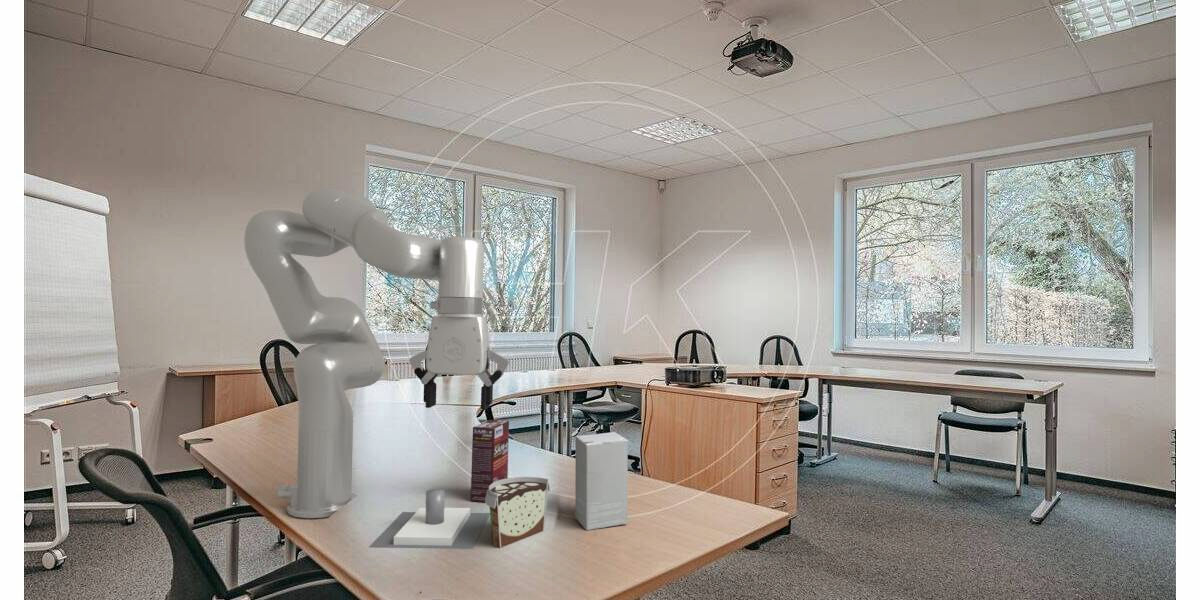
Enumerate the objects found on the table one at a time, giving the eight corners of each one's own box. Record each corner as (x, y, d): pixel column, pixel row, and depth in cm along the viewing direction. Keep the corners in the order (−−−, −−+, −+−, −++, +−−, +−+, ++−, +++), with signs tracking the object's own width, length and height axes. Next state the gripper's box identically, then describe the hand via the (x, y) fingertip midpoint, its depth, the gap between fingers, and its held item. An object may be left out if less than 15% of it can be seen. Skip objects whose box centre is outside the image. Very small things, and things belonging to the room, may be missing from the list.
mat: (368, 556, 91) (368, 547, 91) (402, 520, 107) (402, 511, 107) (471, 558, 91) (472, 548, 91) (490, 521, 107) (490, 513, 107)
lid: (393, 544, 92) (394, 504, 92) (420, 514, 106) (421, 479, 106) (451, 545, 92) (451, 505, 92) (470, 514, 106) (471, 480, 106)
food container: (524, 528, 104) (525, 471, 104) (549, 537, 100) (550, 478, 100) (468, 549, 95) (469, 487, 95) (493, 560, 91) (494, 495, 91)
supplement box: (492, 511, 113) (494, 428, 113) (469, 509, 114) (470, 426, 114) (508, 497, 121) (510, 420, 121) (486, 496, 122) (488, 419, 122)
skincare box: (614, 514, 112) (615, 430, 113) (629, 527, 106) (630, 438, 106) (572, 519, 109) (573, 433, 109) (585, 532, 103) (586, 441, 103)
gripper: (403, 307, 99) (400, 409, 99) (504, 309, 98) (501, 413, 97) (420, 307, 107) (417, 402, 106) (514, 309, 105) (512, 405, 105)
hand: (457, 407), depth 102 cm, fingers open, 9 cm apart
